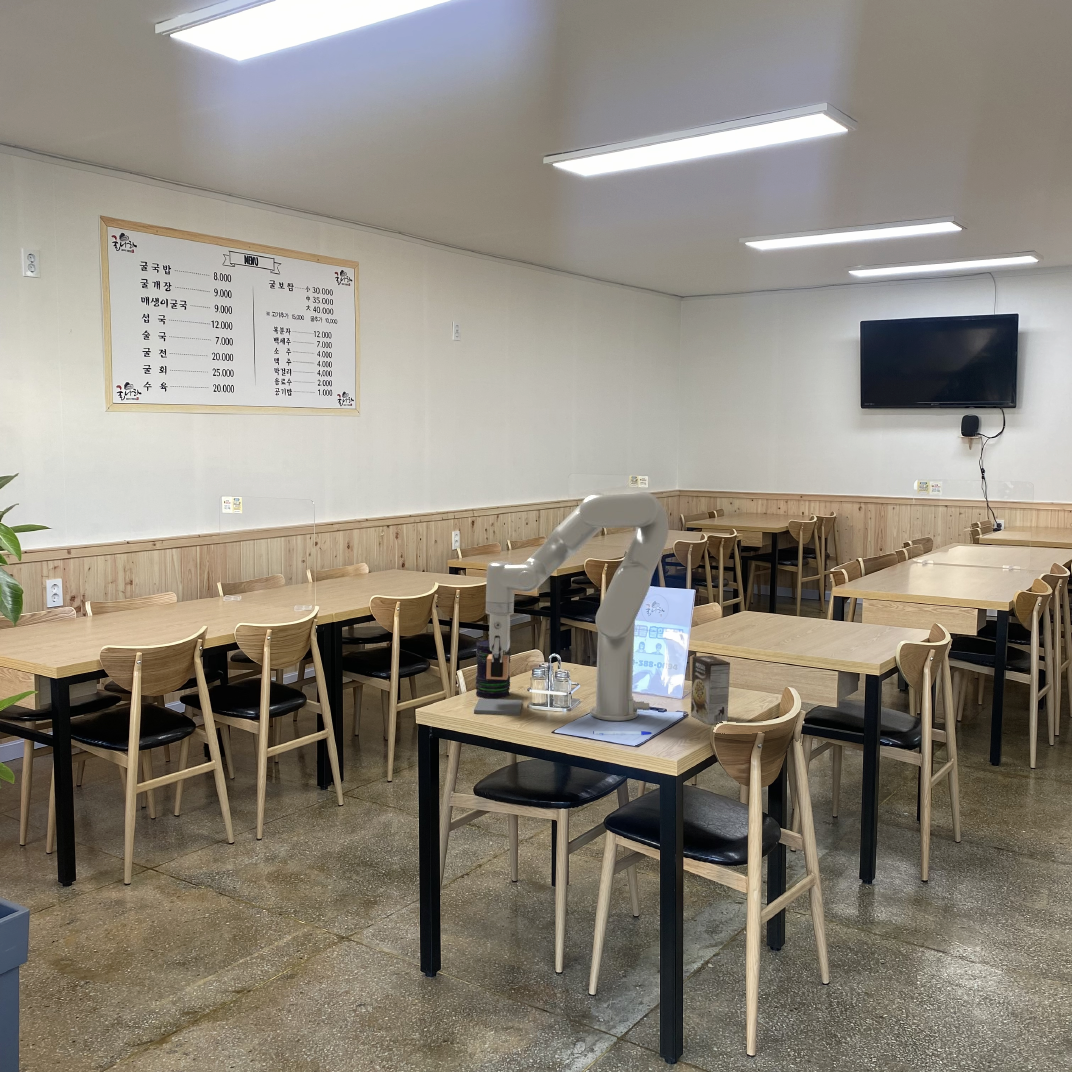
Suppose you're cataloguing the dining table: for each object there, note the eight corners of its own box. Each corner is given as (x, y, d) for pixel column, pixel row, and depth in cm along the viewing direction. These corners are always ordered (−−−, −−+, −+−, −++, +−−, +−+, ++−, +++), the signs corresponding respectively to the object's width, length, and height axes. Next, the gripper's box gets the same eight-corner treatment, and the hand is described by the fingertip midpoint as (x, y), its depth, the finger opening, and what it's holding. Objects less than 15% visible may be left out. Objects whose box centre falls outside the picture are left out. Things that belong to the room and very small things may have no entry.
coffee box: (689, 715, 265) (691, 656, 263) (710, 713, 267) (712, 654, 266) (707, 724, 256) (709, 663, 255) (728, 722, 258) (730, 661, 257)
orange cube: (508, 675, 270) (509, 655, 270) (506, 679, 265) (507, 659, 264) (488, 674, 271) (489, 654, 270) (486, 678, 265) (486, 658, 265)
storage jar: (494, 700, 276) (495, 648, 275) (468, 695, 282) (468, 643, 281) (517, 694, 284) (517, 642, 283) (490, 688, 290) (491, 638, 289)
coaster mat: (522, 703, 274) (522, 700, 274) (519, 715, 262) (519, 711, 262) (478, 702, 275) (478, 698, 275) (473, 713, 263) (473, 710, 263)
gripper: (511, 613, 257) (509, 682, 259) (516, 603, 274) (514, 667, 276) (482, 612, 258) (480, 681, 259) (488, 602, 275) (487, 666, 276)
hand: (497, 673), depth 268 cm, fingers closed on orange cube, 5 cm apart
